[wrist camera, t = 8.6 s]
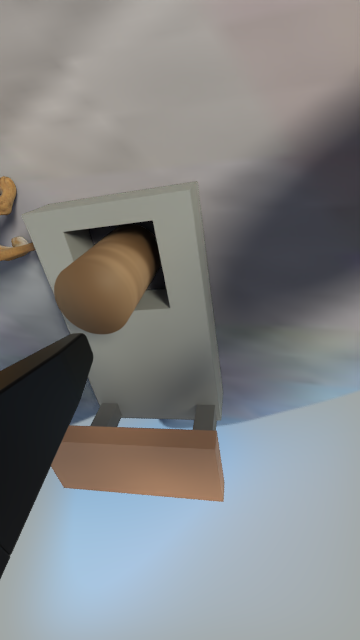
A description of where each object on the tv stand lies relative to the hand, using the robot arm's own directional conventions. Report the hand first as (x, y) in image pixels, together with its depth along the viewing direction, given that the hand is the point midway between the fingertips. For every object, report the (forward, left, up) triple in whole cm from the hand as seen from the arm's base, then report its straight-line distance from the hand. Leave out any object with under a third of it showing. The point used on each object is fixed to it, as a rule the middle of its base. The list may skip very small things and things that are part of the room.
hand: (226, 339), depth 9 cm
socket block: (+7, +6, -12) cm, 15 cm away
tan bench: (+7, +11, -12) cm, 18 cm away
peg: (+7, +1, -12) cm, 14 cm away
